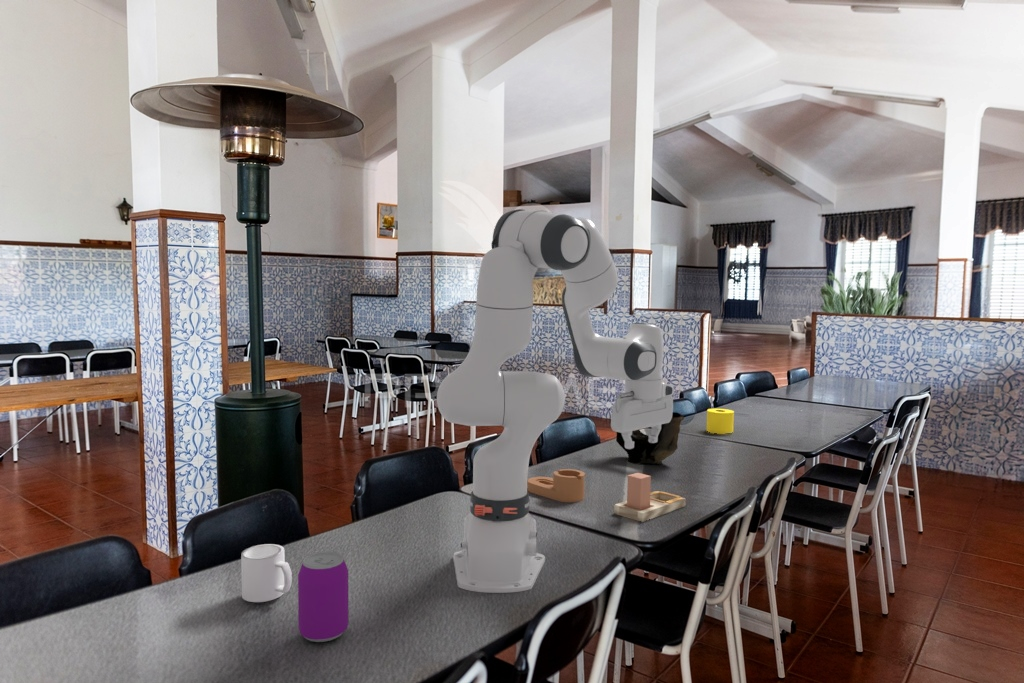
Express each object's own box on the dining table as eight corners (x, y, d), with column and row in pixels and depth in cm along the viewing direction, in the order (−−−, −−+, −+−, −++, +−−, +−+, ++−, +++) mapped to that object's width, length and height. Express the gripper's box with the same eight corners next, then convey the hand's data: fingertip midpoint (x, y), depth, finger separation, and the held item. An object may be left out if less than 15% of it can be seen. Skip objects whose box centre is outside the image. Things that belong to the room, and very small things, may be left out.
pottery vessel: (688, 467, 214) (691, 405, 212) (671, 473, 206) (673, 409, 204) (622, 453, 231) (624, 395, 229) (603, 459, 223) (605, 399, 221)
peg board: (642, 523, 161) (642, 512, 161) (614, 514, 167) (614, 503, 167) (685, 508, 173) (685, 497, 173) (657, 500, 179) (657, 490, 179)
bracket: (590, 499, 180) (591, 473, 180) (569, 505, 174) (570, 479, 174) (541, 484, 193) (542, 460, 193) (521, 490, 187) (521, 465, 187)
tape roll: (734, 433, 266) (735, 409, 266) (731, 438, 257) (732, 414, 257) (708, 431, 271) (709, 407, 270) (704, 435, 261) (705, 411, 261)
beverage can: (288, 638, 106) (287, 564, 105) (318, 616, 113) (318, 546, 112) (329, 648, 103) (328, 572, 102) (358, 625, 110) (357, 553, 109)
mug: (304, 590, 123) (303, 549, 122) (276, 607, 116) (276, 564, 115) (261, 581, 126) (261, 541, 126) (232, 597, 119) (231, 555, 119)
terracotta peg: (639, 519, 164) (641, 478, 163) (626, 515, 167) (627, 475, 166) (649, 515, 167) (650, 475, 166) (636, 511, 170) (637, 472, 169)
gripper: (626, 395, 155) (624, 455, 156) (678, 387, 169) (676, 441, 170) (605, 392, 160) (603, 449, 161) (657, 383, 173) (655, 436, 175)
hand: (641, 445), depth 166 cm, fingers open, 8 cm apart
